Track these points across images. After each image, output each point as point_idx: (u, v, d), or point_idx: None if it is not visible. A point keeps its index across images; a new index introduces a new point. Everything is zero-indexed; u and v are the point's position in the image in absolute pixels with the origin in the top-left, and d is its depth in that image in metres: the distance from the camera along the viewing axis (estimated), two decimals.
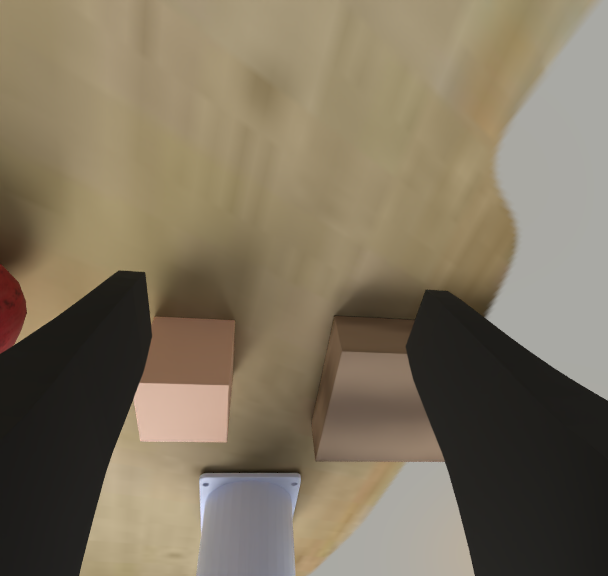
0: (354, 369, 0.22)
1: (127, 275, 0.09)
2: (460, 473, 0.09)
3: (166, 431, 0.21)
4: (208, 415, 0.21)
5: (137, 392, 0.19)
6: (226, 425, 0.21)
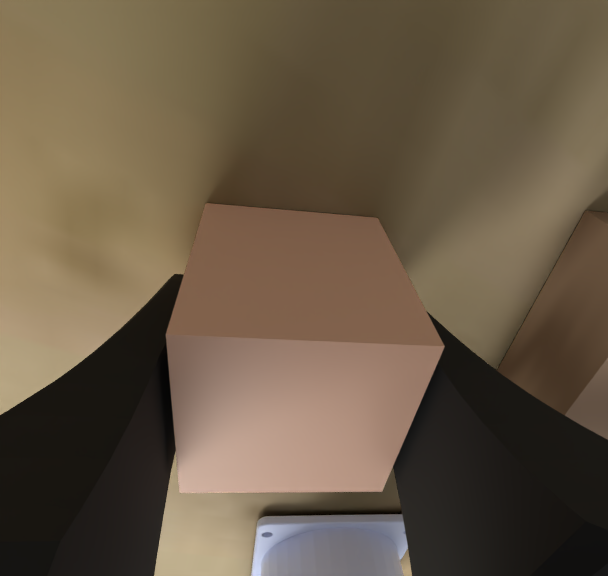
0: None
1: None
2: (403, 473, 0.09)
3: (246, 469, 0.08)
4: (362, 429, 0.08)
5: (183, 365, 0.07)
6: (395, 454, 0.09)
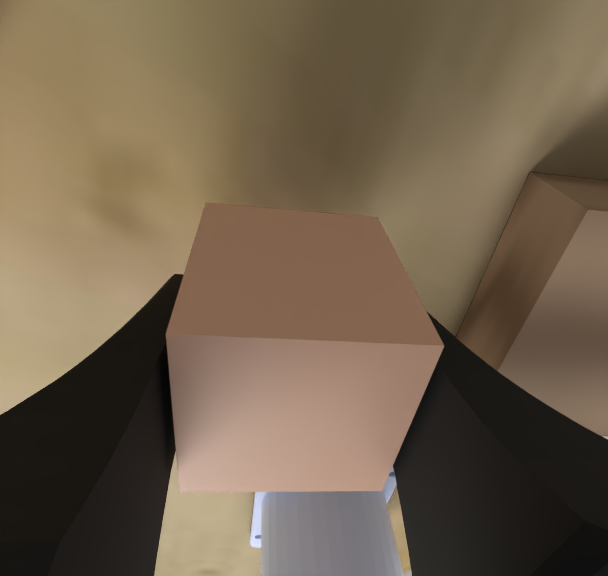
0: (592, 254, 0.12)
1: None
2: (403, 473, 0.09)
3: (246, 469, 0.08)
4: (361, 429, 0.08)
5: (183, 365, 0.07)
6: (394, 453, 0.09)
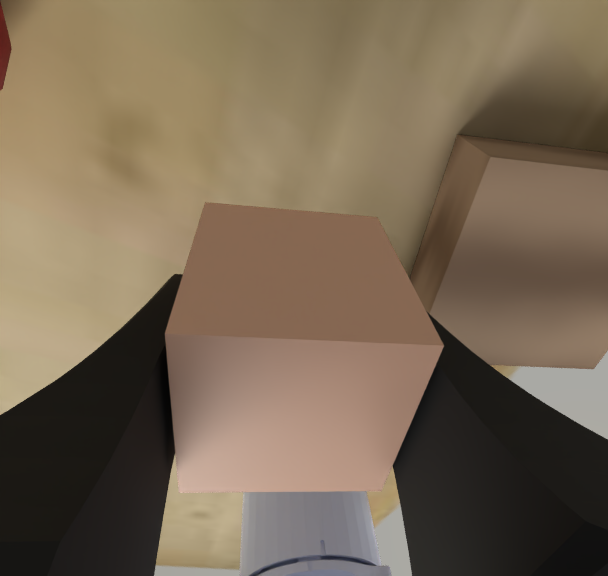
0: (499, 195, 0.15)
1: None
2: (403, 473, 0.09)
3: (245, 469, 0.08)
4: (362, 429, 0.08)
5: (182, 365, 0.07)
6: (394, 453, 0.09)
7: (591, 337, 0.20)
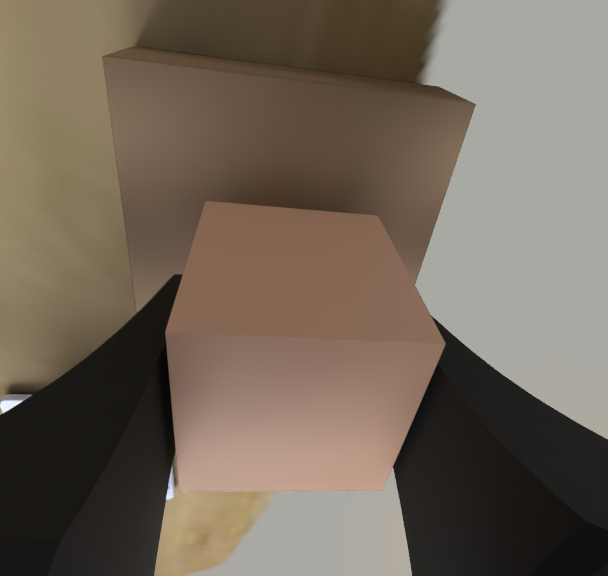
0: (145, 116, 0.11)
1: None
2: (403, 473, 0.09)
3: (246, 468, 0.08)
4: (363, 427, 0.08)
5: (183, 363, 0.07)
6: (395, 452, 0.09)
7: None
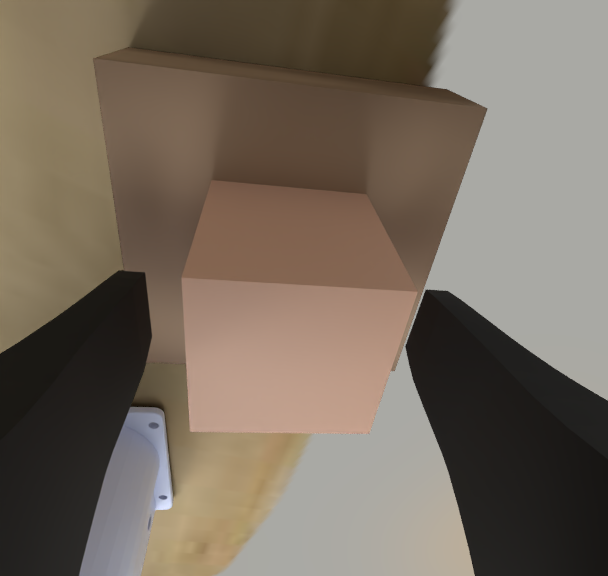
0: (139, 121, 0.10)
1: (127, 275, 0.09)
2: (460, 473, 0.09)
3: (248, 409, 0.10)
4: (349, 371, 0.09)
5: (195, 307, 0.08)
6: (379, 396, 0.10)
7: None
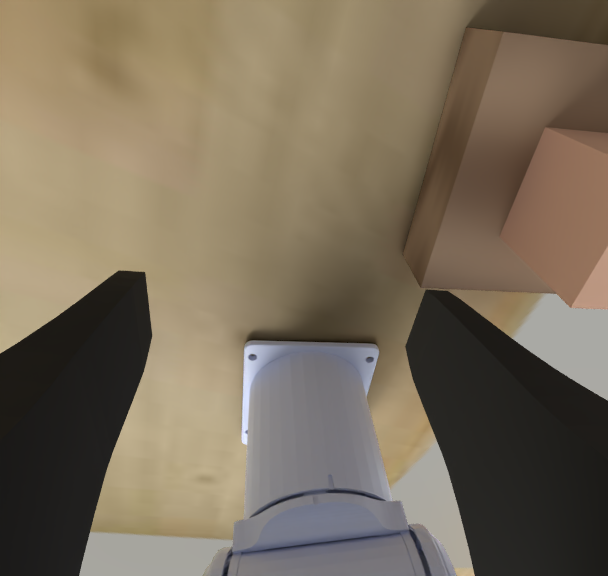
0: (513, 80, 0.14)
1: (127, 275, 0.09)
2: (460, 473, 0.09)
3: None
4: None
5: None
6: None
7: None
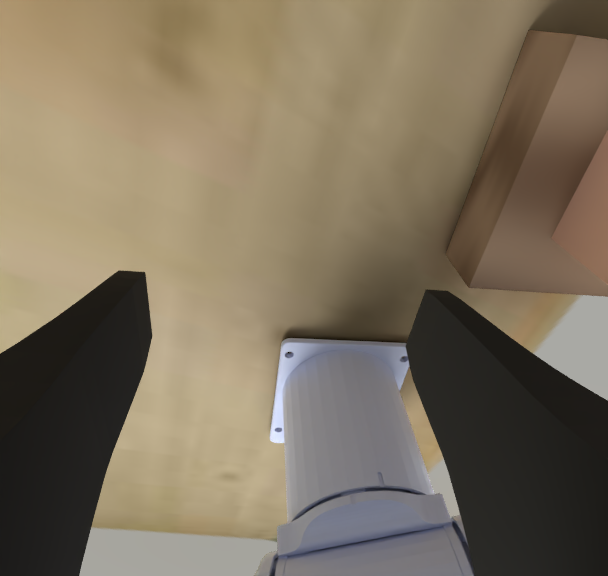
0: (581, 83, 0.14)
1: (127, 275, 0.09)
2: (460, 473, 0.09)
3: None
4: None
5: None
6: None
7: None
